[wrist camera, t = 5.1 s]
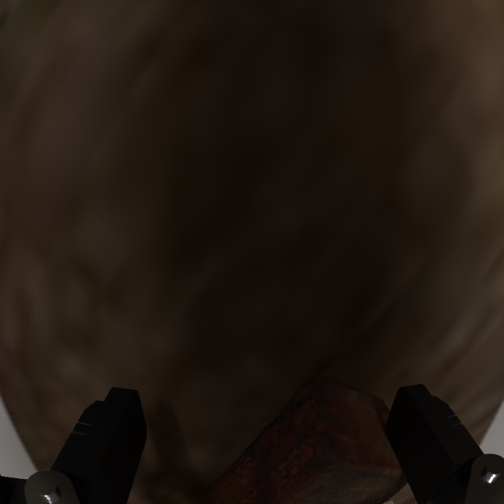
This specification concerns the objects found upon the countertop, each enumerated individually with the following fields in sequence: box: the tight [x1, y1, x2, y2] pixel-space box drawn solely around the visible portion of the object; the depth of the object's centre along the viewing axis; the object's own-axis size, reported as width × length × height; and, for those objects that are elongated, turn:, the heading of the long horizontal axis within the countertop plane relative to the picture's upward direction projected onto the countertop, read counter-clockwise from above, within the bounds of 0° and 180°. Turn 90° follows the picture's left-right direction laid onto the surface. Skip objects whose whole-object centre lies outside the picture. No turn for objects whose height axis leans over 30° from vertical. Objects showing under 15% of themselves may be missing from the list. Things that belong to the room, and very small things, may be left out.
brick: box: [203, 377, 408, 504], centre depth 10 cm, size 11×4×5 cm, turn 153°
